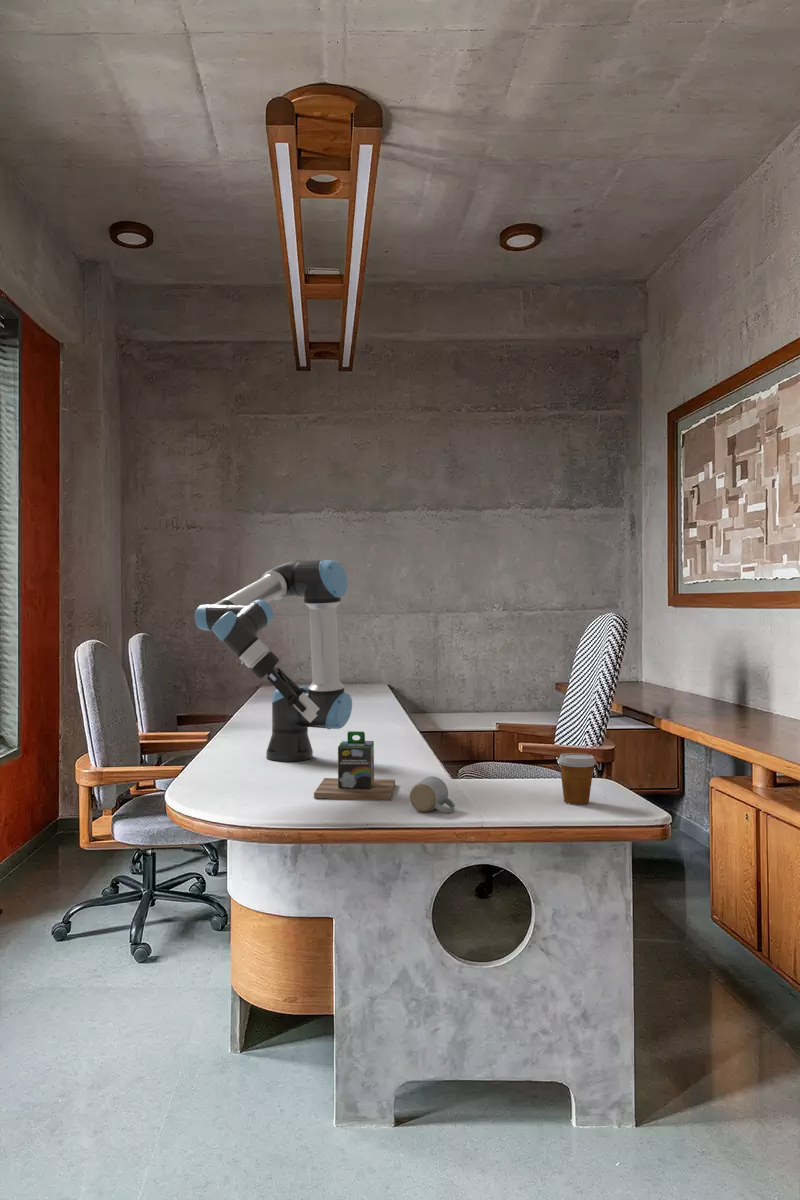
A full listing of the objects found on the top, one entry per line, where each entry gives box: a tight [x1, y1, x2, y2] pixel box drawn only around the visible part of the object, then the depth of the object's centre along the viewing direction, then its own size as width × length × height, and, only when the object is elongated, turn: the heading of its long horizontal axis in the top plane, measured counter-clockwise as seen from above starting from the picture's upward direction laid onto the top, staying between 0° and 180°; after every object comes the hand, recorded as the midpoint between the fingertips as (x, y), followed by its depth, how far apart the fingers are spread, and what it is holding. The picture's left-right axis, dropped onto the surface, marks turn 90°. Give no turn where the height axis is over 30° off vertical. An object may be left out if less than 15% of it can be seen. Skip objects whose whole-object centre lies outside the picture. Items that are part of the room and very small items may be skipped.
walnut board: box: [313, 777, 396, 801], centre depth 241 cm, size 20×20×2 cm
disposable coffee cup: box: [557, 752, 596, 805], centre depth 231 cm, size 10×10×12 cm
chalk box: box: [337, 730, 375, 789], centre depth 242 cm, size 9×9×15 cm
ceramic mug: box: [409, 775, 456, 814], centre depth 220 cm, size 11×8×8 cm
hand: (315, 715), depth 242 cm, fingers open, 13 cm apart
